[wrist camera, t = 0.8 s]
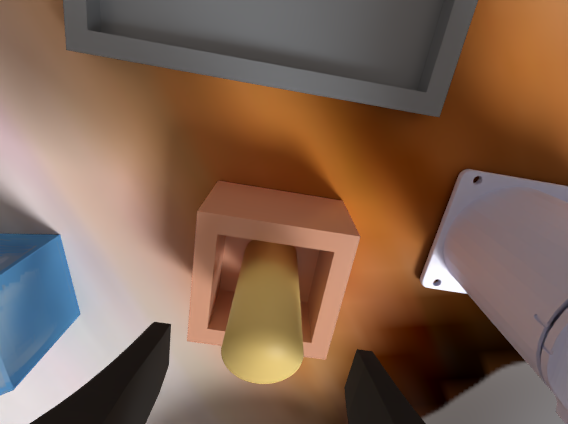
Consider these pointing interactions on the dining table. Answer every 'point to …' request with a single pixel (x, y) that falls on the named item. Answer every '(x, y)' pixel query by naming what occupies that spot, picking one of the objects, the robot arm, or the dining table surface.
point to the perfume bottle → (32, 302)
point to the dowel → (265, 316)
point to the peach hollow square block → (277, 229)
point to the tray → (289, 43)
